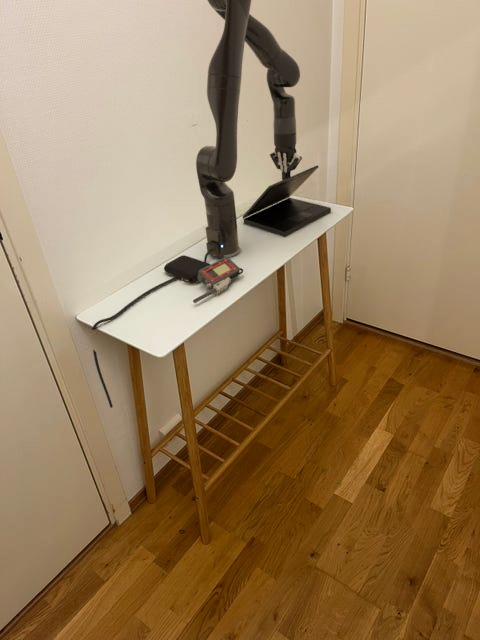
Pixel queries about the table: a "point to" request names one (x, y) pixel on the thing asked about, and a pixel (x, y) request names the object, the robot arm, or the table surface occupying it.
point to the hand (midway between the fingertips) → (286, 181)
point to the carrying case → (185, 268)
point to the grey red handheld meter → (218, 276)
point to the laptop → (287, 216)
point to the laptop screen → (279, 191)
